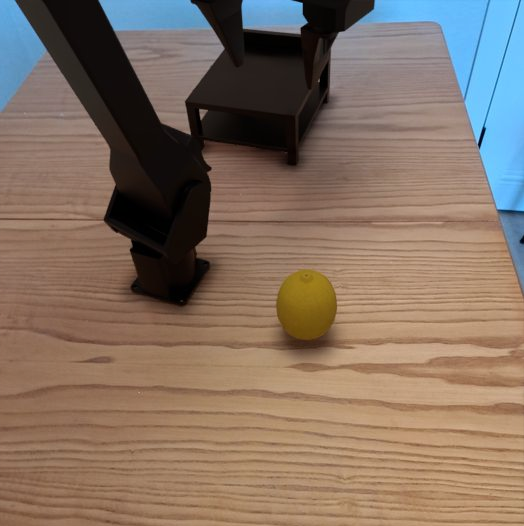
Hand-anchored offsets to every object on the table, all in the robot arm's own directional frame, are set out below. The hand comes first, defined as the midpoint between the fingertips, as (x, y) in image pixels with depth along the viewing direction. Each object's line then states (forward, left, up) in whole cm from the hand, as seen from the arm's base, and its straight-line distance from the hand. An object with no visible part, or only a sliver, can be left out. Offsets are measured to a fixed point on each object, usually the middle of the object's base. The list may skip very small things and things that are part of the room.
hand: (274, 76), depth 59 cm
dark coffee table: (+11, +7, -13) cm, 19 cm away
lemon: (-21, -11, -13) cm, 27 cm away
